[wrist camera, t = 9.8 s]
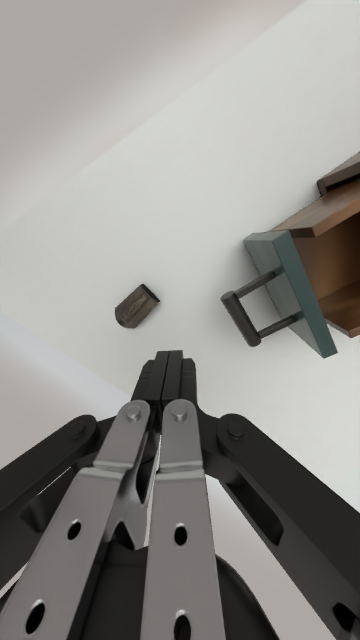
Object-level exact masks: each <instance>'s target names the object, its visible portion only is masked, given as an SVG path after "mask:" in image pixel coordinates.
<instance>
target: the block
mask: <svg viewBox="0 0 360 640" xmlns="http://www.w3.org/2000/svg"><path fill="white" fill-rule="evenodd" d="M159 302H160V300H159V299H158V298H157V297H156V296H155V295H154V294H153V293H152V292H151V291H150V290H149V289H148V288H147V287H146V286H145V285H144V284H141V285H140V286H139V287H138V288H137V289H136V290H135V291H134V292H132V293H131V294H130V295H129V296H128V297H127V298H126V299H125V300H124V301H123V302H121V303H120V304H119V305H118V306H117V307H116V308H115V317H116V320H117V322H118V323H119V324H120V325H121V326H123V327H125V328H136V327H137V326H138V325H139V323H140V322H141V321H142V320H143V319H144V318H145V317H146V316H147V315H148V314H149V313H150V312H151V310H152V309H153V308H154V307H155V306H156V305H157V304H158V303H159Z"/></svg>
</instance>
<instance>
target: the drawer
mask: <svg viewBox="0 0 360 640" xmlns="http://www.w3.org/2000/svg"><path fill="white" fill-rule="evenodd" d="M243 242H244V244H245V246H246V248H247V250H248V252H249V254H250V256H251V258H252V260H253V262H254V264H255V266H256V268H257V270H258V272H259V274H260V276H261V277H259V278H257V279H256V280H254V281H252V282H251V283H249V284H247V285H245V286H244V287H242V288H240V289H239V290H237V291H235V292H234V291H230V292H227V293H225V294H224V295H223V296H222V297H221V301H222V303H223V305H224V306H225V308H226V309H227V311H228V313H229V314H230V316H231V318H232V319H233V321H234V322H235V324H236V326H237V327H238V329H239V331H240V332H241V334H242V335H243V337H244V339H245V340H246V342H247V344H248V345H249V346H251V347H255V346H257V345H259V344H260V343H261V339H262V338H264V337H266V336H268V335H270V334H272V333H275V332H277V331H279V330H281V329H283V328H285V327H287V326H288V327H289V328H290V329H291V330H292V331H294V332H295V333H296V334H297V335H298V336H299V337H300V338H301V339H302V340H304V341H305V342H306V343H307V344H308V345H309V346H310V347H311V348H312V349H314V350H315V351H316V352H317V353H318V354H319V355H320V356H321V357H323V358H327V357H329V356H331V355H334V354H336V353H338V352H337V349H336V347H335V344H334V342H333V339H332V337H331V334H330V332H329V329H328V327H327V324H329V325H330V326H332V327H334V328H335V329H337V330H339V331H340V332H342V333H343V334H345V335H347V336H348V337H350V338H353V337H355V336H358V335H360V174H358V175H355V176H353V177H351V178H350V179H348V180H347V181H345V182H344V183H342V184H341V185H339V186H338V187H336V188H335V189H333V190H332V191H330V192H329V193H327V194H325V195H324V196H322V197H321V198H319V199H318V200H316V201H315V202H313V203H312V204H310V205H309V206H307V207H306V208H304V209H303V210H301V211H300V212H298V213H297V214H295V215H293V216H292V217H290V218H289V219H287V220H286V221H284V222H283V223H281V224H280V225H278V226H277V227H275V228H274V229H272V230H271V231H270V232H263V233H253V234H251V235H250V236H248V237H247V238H245V239H244V240H243ZM264 284H265V286H266V288H267V290H268V292H269V294H270V296H271V298H272V300H273V302H274V304H275V306H276V308H277V310H278V312H279V314H280V316H281V318H282V320H280V321H278V322H276V323H274V324H272V325H270V326H268V327H266V328H264V329H262V330H260V331H258V332H257V331H256V329H255V327H254V325H253V324H252V322H251V320H250V318H249V317H248V315H247V313H246V311H245V310H244V308H243V306H242V304H241V303H240V301H239V298H241V297H243V296H244V295H246V294H248V293H250V292H251V291H253V290H255V289H257V288H258V287H260V286H262V285H264ZM326 323H327V324H326Z"/></svg>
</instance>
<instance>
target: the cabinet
mask: <svg viewBox="0 0 360 640" xmlns="http://www.w3.org/2000/svg"><path fill="white" fill-rule="evenodd" d="M358 174H360V152H359V153H357V154H356V155H354V156H353V157H351V158H350V159H348V160H347V161H345V162H344V163H343V164H341V165H340V166H338V167H337V168H335V169H334V170H332V171H331V172H329V173H328V174H326V175H325V176H324V177H322V178H321V179H319V180H318V181H317V183H318V186H319V189H320V192H321V195H322V196H324V195H325V194H327V193H329V192H330V191H332V190H333V189H335V188H336V187H338V186H339V185H341V184H342V183H344V182H345V181H347V180H348V179H350V178H351V177H353V176H355V175H358Z"/></svg>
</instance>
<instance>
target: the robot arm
mask: <svg viewBox="0 0 360 640" xmlns="http://www.w3.org/2000/svg"><path fill="white" fill-rule="evenodd" d="M160 435H161V436H162V437H161V449H160V462H159V469H158V470H157V471H156V475H155V480H154V490H153V502H152V513H151V524H150V535H149V546H146V547H143V546H144V541H145V534H146V526H147V508H148V502H149V498H150V493H151V488H152V484H153V479H154V474H155V470H156V465H157V460H158V455H159V441H160ZM70 466H71V468H69V467H70ZM68 468H69V469H68ZM67 469H68V470H67ZM66 470H67V471H66ZM65 471H66V472H65ZM63 472H65V473H64V474H62V473H63ZM61 474H62V475H61ZM205 474H207V475H209V476H212V477H214V478H216V479H218V480H219V482H220V484H221V485H222V487H223V488H224V489H225V491H226V492H227V493H228V495H229V496H230V497H231V499H232V500H233V501H234V503H235V504H236V505H237V507H238V508H239V509H240V511H241V512H242V514H243V515H244V516H245V518H246V519H247V520H248V522H249V523H250V524H251V526H252V527H253V528H254V530H255V531H256V532H257V534H258V535H259V536H260V538H261V539H262V540H263V542H264V543H265V544H266V546H267V547H268V548H269V550H270V551H271V553H272V554H273V555H274V557H275V558H276V559H277V560H278V562H279V563H280V565H281V566H282V567H283V569H284V570H285V571H286V573H287V574H288V575H289V577H290V578H291V579H292V581H293V582H294V583H295V585H296V586H297V587H298V589H299V590H300V591H301V593H302V594H303V596H304V597H305V598H306V600H307V601H308V602H309V604H310V605H311V606H312V608H313V609H314V610H315V612H316V613H317V614H318V616H319V617H320V618H321V620H322V621H323V622H324V624H325V625H326V626H327V628H328V629H329V630H330V632H331V633H332V634H333V636H334V637H335V638H336V640H360V513H359V512H358V511H356V510H355V509H354V508H353V507H352V506H350V505H349V504H348V503H347V502H346V501H344V500H343V499H342V498H341V497H340V496H339V495H337V494H336V493H335V492H334V491H333V490H331V489H330V488H329V487H328V486H327V485H325V484H324V483H323V482H322V481H321V480H319V479H318V478H317V477H316V476H315V475H313V474H312V473H311V472H310V471H309V470H307V469H306V468H305V467H304V466H303V465H301V464H300V463H299V462H298V461H297V460H295V459H294V458H293V457H292V456H291V455H289V454H288V453H287V452H286V451H285V450H284V449H282V448H281V447H280V446H279V445H278V444H276V443H275V442H274V441H273V440H272V439H270V438H269V437H268V436H267V435H266V434H264V433H263V432H262V431H261V430H260V429H258V428H257V427H256V426H255V425H254V424H252V423H251V422H250V421H249V420H248V419H246V418H245V417H243V416H241V415H238V414H233V413H232V414H226V415H223V416H222V417H221V418H220V419H219V418H216V417H212V416H209V415H207V414H205V413H204V412H203V411H202V410H201V409H200V408H199V406H198V404H197V383H196V368H195V363H194V361H193V360H192V358H187V359H184V358H183V350H175V351H158V352H157V354H156V358H155V360H149V361H148V362H147V363H146V364H145V365H144V366H143V368H142V371H141V374H140V376H139V380H138V382H137V385H136V387H135V390H134V393H133V395H132V398H131V401H130V402H128V403H127V404H125V405H124V406H123V407H122V408H121V409H120V411H119V412H118V414H117V415H116V416H114V417H111V418H108V419H105V420H102V421H98V422H97V421H96V419H95V417H94V416H92V415H82V416H79V417H77V418H74V419H73V420H71V421H70V422H68V423H67V424H66V425H64V426H63V427H62V428H60V429H58V430H57V431H55V432H54V433H53V434H51V435H50V436H48V437H47V438H45V439H44V440H43V441H41V442H40V443H38V444H37V445H35V446H34V447H32V448H31V449H30V450H28V451H27V452H25V453H24V454H22V455H21V456H20V457H18V458H17V459H15V460H14V461H12V462H11V463H9V464H8V465H7V466H5V467H4V468H2V469H1V470H0V590H1V589H2V588H3V587H4V586H5V585H6V584H7V583H8V582H9V580H11V578H12V577H13V576H14V575H15V574H16V573H17V572H18V571H19V570H20V569H21V568H22V567H23V566H24V565H25V564H26V563H27V562H28V561H29V562H28V563H27V566H26V567H25V569H24V571H23V573H22V575H21V576H20V578H19V579H18V580H17V581H16V582H15V583H14V584H13V585H12V586H11V588H10V589H9V590H8V591H7V592H6V593H5V594H4V595H3V597H1V598H0V640H280V639H279V637H278V635H277V634H276V632H275V630H274V629H273V627H272V625H271V623H270V622H269V620H268V618H267V616H266V615H265V613H264V611H263V609H262V608H261V606H260V604H259V602H258V601H257V599H256V597H255V596H254V594H253V592H252V591H251V590H250V588H249V587H248V586H247V584H246V583H245V581H244V580H243V579H242V577H241V576H240V575H239V574H238V573H237V572H236V570H235V569H234V568H233V567H232V566H230V565H229V564H228V563H227V562H226V561H225V560H223V559H222V558H221V557H219V556H217V555H216V554H215V550H214V541H213V533H212V526H211V518H210V509H209V502H208V493H207V485H206V478H205ZM60 475H61V476H60ZM59 476H60V477H59ZM57 477H59V478H58V479H57V480H56V481H54V480H55V479H56V478H57ZM53 481H54V482H53ZM52 482H53V483H52ZM51 483H52V484H51ZM49 484H51V485H50V486H49V487H47V486H48V485H49ZM46 487H47V488H46ZM45 488H46V489H45ZM44 489H45V490H44ZM42 490H44V491H43V492H42V493H40V492H41V491H42ZM39 493H40V494H39ZM38 494H39V495H38Z"/></svg>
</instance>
